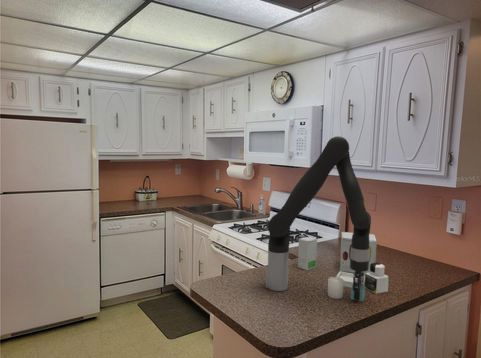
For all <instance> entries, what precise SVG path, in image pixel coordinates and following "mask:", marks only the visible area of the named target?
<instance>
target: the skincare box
mask: <svg viewBox="0 0 481 358" xmlns="http://www.w3.org/2000/svg"><path fill="white" fill-rule="evenodd" d="M317 247H318V239H317V238H315V237H310V236H306V237H301V238H298V251H297V252H298V254H297V255H298V256H297V268H299V269H302V270H304V271H310V270H312V269H315V268H317V254H318V253H317V251H318V248H317Z"/></svg>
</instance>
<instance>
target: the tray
mask: <svg viewBox="0 0 481 358" xmlns="http://www.w3.org/2000/svg"><path fill="white" fill-rule="evenodd" d="M353 274H354V273H353V272H344V271H340V270H339V271H338V273H337V274H336V276H335V277H338V278H341V279H343V280H344V285H343V288H344V287H345V288H350V289H351V287H352V285H353ZM363 285H365V274H364V282H363Z"/></svg>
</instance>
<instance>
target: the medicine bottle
mask: <svg viewBox="0 0 481 358" xmlns="http://www.w3.org/2000/svg"><path fill="white" fill-rule="evenodd" d="M385 268H386V266H385V265H384V264H382V263H380V262H375V263H371V264H370V273H365V274H364V275H365V282H364V286H365V290H367V291H369V292H371V293H373V294H382V293H388V291H389V276H388V275H387V274H385Z"/></svg>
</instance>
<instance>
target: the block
mask: <svg viewBox="0 0 481 358" xmlns="http://www.w3.org/2000/svg"><path fill="white" fill-rule="evenodd" d="M355 288H358V287H357V286H356V287H355ZM365 297H366V288H365V285H364V284H363V285H362V286H361V287H360V299H359V300H357V301H358V302H364V300H365ZM350 300H353V301H356V300H355V299H354V291H353V285H352V287H351V288H350Z"/></svg>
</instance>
